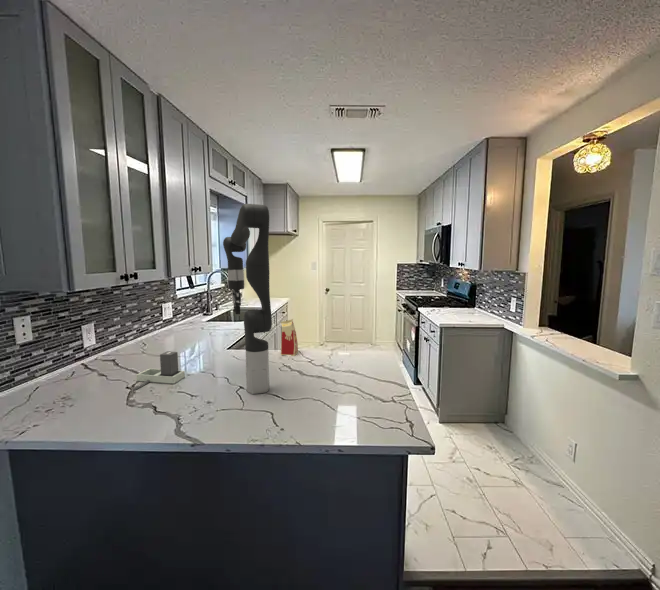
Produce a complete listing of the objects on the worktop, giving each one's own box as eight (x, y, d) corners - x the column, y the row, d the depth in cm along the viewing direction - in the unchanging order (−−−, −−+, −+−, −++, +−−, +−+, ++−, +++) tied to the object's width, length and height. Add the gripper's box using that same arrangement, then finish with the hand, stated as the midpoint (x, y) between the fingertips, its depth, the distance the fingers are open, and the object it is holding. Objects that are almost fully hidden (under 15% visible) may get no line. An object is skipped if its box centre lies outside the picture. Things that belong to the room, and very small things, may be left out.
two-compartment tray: (160, 392, 137) (159, 385, 137) (120, 389, 140) (120, 382, 140) (184, 377, 154) (184, 370, 153) (149, 375, 157) (148, 368, 156)
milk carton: (298, 351, 196) (297, 317, 193) (294, 356, 187) (294, 320, 184) (282, 351, 197) (282, 317, 194) (278, 355, 188) (278, 320, 185)
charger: (171, 381, 147) (170, 354, 146) (161, 381, 148) (159, 354, 147) (178, 377, 152) (177, 351, 151) (168, 377, 153) (167, 351, 152)
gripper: (226, 278, 167) (227, 311, 169) (228, 280, 154) (229, 315, 155) (242, 278, 170) (243, 310, 171) (245, 279, 156) (246, 314, 158)
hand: (236, 312), depth 163 cm, fingers open, 8 cm apart
